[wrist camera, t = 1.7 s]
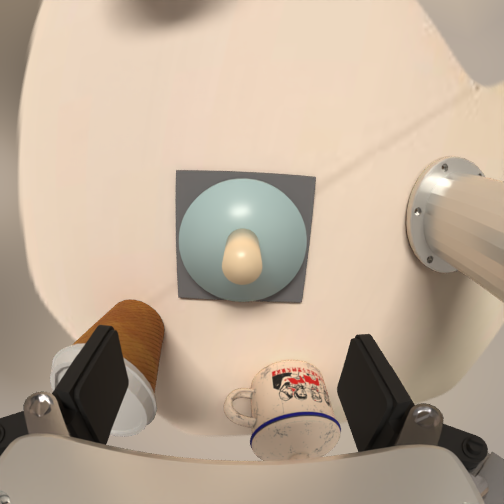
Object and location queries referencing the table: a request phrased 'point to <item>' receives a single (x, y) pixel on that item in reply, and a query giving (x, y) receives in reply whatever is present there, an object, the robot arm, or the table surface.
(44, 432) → the robot arm
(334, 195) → the table surface
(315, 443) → the teacup with lid
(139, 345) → the disposable coffee cup
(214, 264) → the cover
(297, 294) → the mat
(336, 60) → the table surface
